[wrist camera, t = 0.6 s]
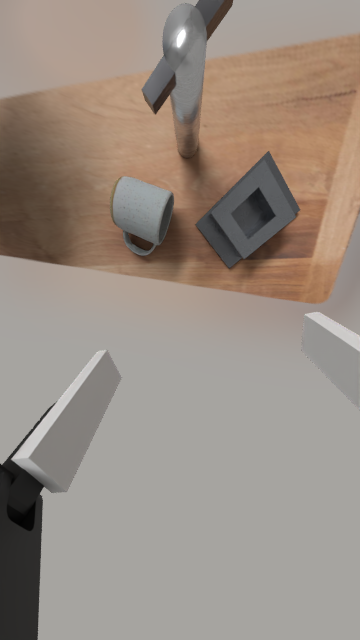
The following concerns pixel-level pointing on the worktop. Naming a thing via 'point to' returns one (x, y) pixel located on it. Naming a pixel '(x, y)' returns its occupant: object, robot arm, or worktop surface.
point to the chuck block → (249, 212)
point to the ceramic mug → (141, 211)
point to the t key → (185, 68)
